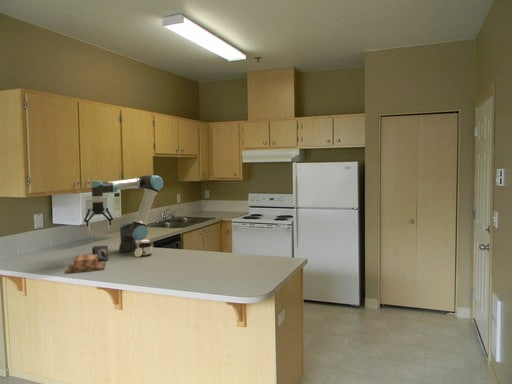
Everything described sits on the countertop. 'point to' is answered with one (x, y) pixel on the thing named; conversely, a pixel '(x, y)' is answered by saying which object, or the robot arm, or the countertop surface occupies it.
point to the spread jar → (144, 248)
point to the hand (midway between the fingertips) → (99, 230)
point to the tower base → (99, 267)
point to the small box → (101, 252)
